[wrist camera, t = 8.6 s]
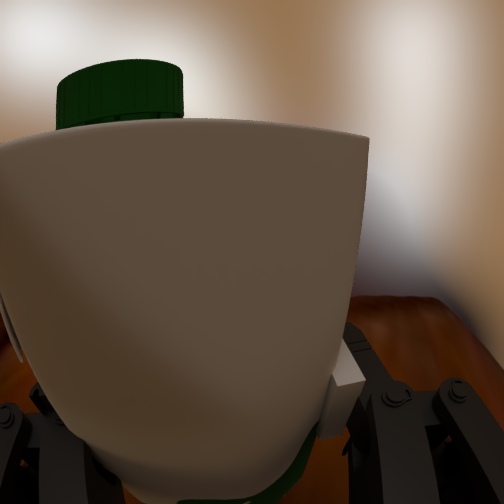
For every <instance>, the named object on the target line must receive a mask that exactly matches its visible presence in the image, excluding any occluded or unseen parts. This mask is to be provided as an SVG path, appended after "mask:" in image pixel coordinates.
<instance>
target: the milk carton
mask: <svg viewBox="0 0 504 504" xmlns="http://www.w3.org/2000/svg"><path fill="white" fill-rule="evenodd" d="M183 116H184V102H183V73H182V70H181V69H180V68H179V67H178V66H176V65H174V64H171V63H168V62H164V61H158V60H149V59H127V60H117V61H111V62H105V63H100V64H96V65H92V66H89V67H86V68H83V69H81V70H78V71H76V72H74V73H72V74H70V75H68V76H67V77H65V78H64V79H63V80H61V82H60V83H59V84H58V86H57V100H56V130H55V131H50V132H45V133H40V134H36V135H31V136H27V137H22V138H19V139H15V140H11V141H7V142H3V143H0V312H1V315H2V318H3V321H4V324H5V327H6V330H7V333H8V335H9V338H10V341H11V343H12V345H13V347H14V350H15V352H16V354H17V356H18V358H19V360H20V362H21V363H23V357H22V352H21V347H22V349H23V352H24V354H25V356H26V358H27V360H28V362H29V365H30V367H31V369H32V371H33V373H34V375H35V377H36V379H37V380H38V382H39V384H40V386H41V388H42V390H43V391H44V393H45V395H46V397H47V398H48V400H49V402H50V403H51V405H52V406H53V408H54V409H55V411H56V412H57V414H58V415H59V416H60V418H61V419H62V421H63V422H64V424H65V425H66V426H67V428H68V429H69V430H70V431H71V432H73V433H74V434H75V435H76V436H77V437H79V438H81V439H83V440H84V441H85V442H86V443H87V445H88V446H89V447H90V448H91V449H92V456H93V457H94V458H95V459H96V460H97V461H98V462H99V463H100V464H101V465H102V466H103V467H104V468H105V469H106V470H108V471H109V472H111V473H113V474H115V475H116V476H117V477H118V478H119V479H120V480H121V483H122V486H123V487H124V488H125V489H127V490H128V491H129V492H130V493H131V494H132V495H134V496H135V497H136V498H137V499H138V500H140V501H141V502H142V503H143V504H276V503H277V502H278V501H279V500H280V499H281V498H282V497H283V496H284V495H285V494H286V493H287V492H288V491H289V490H290V489H291V488H292V487H293V486H294V485H295V484H296V483H297V482H298V481H299V479H300V478H301V476H302V475H303V472H304V470H305V467H306V464H307V462H308V459H309V456H310V453H311V450H312V447H313V444H314V441H315V438H316V435H317V432H316V429H317V426H318V423H319V419H320V416H321V413H322V409H323V406H324V402H325V398H326V395H327V391H328V387H329V383H330V379H331V375H332V372H333V371H334V369H335V367H336V364H337V360H338V355H339V351H340V346H341V342H342V337H343V332H344V327H345V322H346V317H347V312H348V307H349V301H350V296H351V290H352V285H353V279H354V272H355V267H356V261H357V255H358V249H359V241H360V234H361V226H362V218H363V210H364V201H365V191H366V180H367V167H368V151H369V138H368V137H366V136H361V135H356V134H351V133H346V132H340V131H334V130H328V129H322V128H316V127H309V126H302V125H293V124H285V123H274V122H264V121H252V120H251V121H250V120H234V119H208V118H183ZM20 345H21V347H20Z"/></svg>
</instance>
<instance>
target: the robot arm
mask: <svg viewBox="0 0 504 504" xmlns="http://www.w3.org/2000/svg"><path fill="white" fill-rule="evenodd" d="M29 397H30V398H31V400H32V401H33V403H34V404H35V405H36V407H37V408H38V409H39V411H40V413H26V414H24V413H23V411H22V410H21V409H20V408H19V406H18V405H16V404H14V403H5V404H2V405H0V504H125V499H124V494H123V488H122V483H121V480H120V479H119V478H118V477H117V476H116V475H115V474H113V473H111V472H109V471H108V470H106V469H105V468H104V467H103V466H102V465H101V464H100V463H99V462H98V461H97V460H96V459H95V458H94V457H93V456H92V449H91V448H90V447H89V446H88V445H87V443H86V442H85V441H84V440H83V439H81V438H79V437H77V436H76V435H75V434H74V433H73V432H71V431H70V430H69V429H68V428H67V426H66V425H65V424H64V422H63V421H62V419H61V418H60V416H59V415H58V414H57V412H56V411H55V409H54V408H53V406H52V405H51V403H50V402H49V400H48V398H47V397H46V395H45V393H44V391H43V390H42V388H41V386H40V384H39V382H38V383H36V385H35V386H34V387H33V388H32V389H31V391H30V394H29ZM346 426H347V428H348V430H349V433H350V435H351V436H350V438H349V440H348V442H347V443H346V445H345V447H344V449H343V452H342V455H346V453H347V451H348V466H349V504H504V432H503V430H502V429H501V427H500V426H499V424H498V423H497V421H496V420H495V418H494V417H493V415H492V414H491V412H490V411H489V410H488V408H487V407H486V405H485V404H484V403H483V401H482V400H481V398H480V397H479V396H478V394H477V393H476V392H475V390H474V389H473V388H472V386H471V385H470V384H469V383H468V382H466V381H464V380H462V379H459V378H449V379H447V380H445V381H444V382H442V384H441V386H440V387H439V389H438V390H435V391H413V390H412V389H411V388H410V387H409V386H408V385H407V384H405V383H402V382H400V381H395V380H393V379H392V378H391V376H390V375H389V373H388V372H387V370H386V368H385V367H384V365H383V364H382V362H381V361H380V359H379V357H378V356H377V354H376V353H375V351H374V350H372V347H371V345H370V344H369V342H367V339H366V338H365V336H364V335H363V333H362V332H361V330H360V329H358V328H357V327H356V326H354V325H353V324H351V323H350V322H348V323H345V327H344V332H343V337H342V342H341V346H340V351H339V355H338V360H337V364H336V367H335V369H334V371H333V372H332V375H331V379H330V383H329V387H328V391H327V395H326V398H325V402H324V406H323V409H322V413H321V416H320V419H319V423H318V426H317V429H316V432H317V435H318V438H319V440H321V439H325V438H330V437H334V436H338V435H342V434H343V432H344V430H345V428H346ZM448 435H449V436H450V438H451V439H452V440H451V439H449V438H448ZM21 459H23V460H24V461H25V463H24V465H22V466H20V463H21Z"/></svg>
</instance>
